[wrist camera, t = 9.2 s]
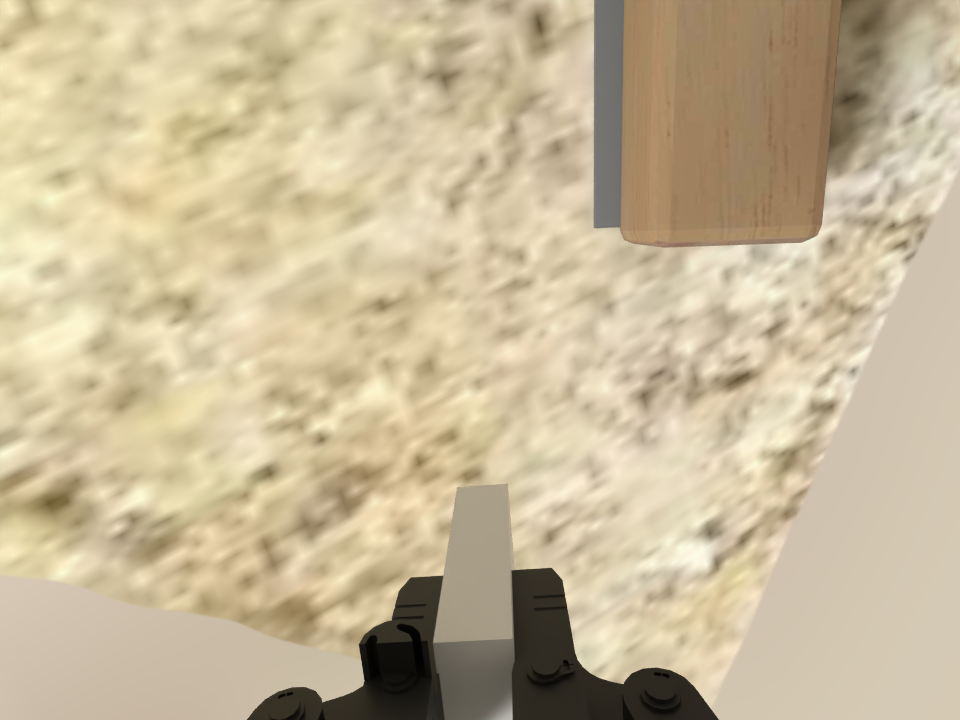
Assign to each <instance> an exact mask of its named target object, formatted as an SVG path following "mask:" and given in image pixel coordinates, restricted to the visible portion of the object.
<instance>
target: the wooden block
mask: <svg viewBox="0 0 960 720" xmlns="http://www.w3.org/2000/svg"><path fill="white" fill-rule="evenodd" d="M841 5H842V0H624V37H623V100H622V163H621V226H620V230H621V233H622V235H623V238H624V240H626V241H628V242H631V243H634V244H640V245H649V246H657V247H692V246H720V245H748V244H776V243H802V242H804V241H806V240H809V239H811V238H813V237H815V236H817V235H818V232H819V230H820V228H821V225H822V217H823V206H824V195H825V184H826V173H827V161H828V150H829V139H830V128H831V117H832V106H833V94H834V83H835V72H836V61H837V50H838V39H839V27H840V16H841Z"/></svg>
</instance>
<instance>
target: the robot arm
mask: <svg viewBox="0 0 960 720" xmlns="http://www.w3.org/2000/svg"><path fill="white" fill-rule="evenodd" d="M359 648H360V654H361V661H362V667H363V673H364V680H365V681H364V685H363V687H361V688H359V689H357V690H356V691H354V692H352V693H350V694H347V695H345V696H342V697H339V698H336V699H332V700H329V701H326V702H323V703H322V699H321V697H320V696H319V695H318V694H317V692H316V691H314V690H311V689H308V688H306V687H295V688H294V687H293V688H289V689H286V690H283V691H279V692H277V693H275V694H274V695H272V696H270V697H269V698H267V699H265V700H264V701H263V702H262V703H261V704H260V705H259V706H258V707H257V708H256V709H255V710H254V711H253V713H252V714H251V715H250V717H249V718H248V719H247V720H718V718H717V717H716V715H715V714H714V713H713V711H712V710H711V709H710V707H709V706H708V705H707V703H706V702H705V701H704V699H703V698H702V697H701V695H700V694H699V692H698V691H697V690H696V688H695V687H694V686H693V685H692V684H691V683H690V682H689V681H688V680H687V679H686V678H685V677H683V676H681V675H679V674H677V673H675V672H673V671H671V670H666V669H661V668H646V669H641V670H639V671H637V672H634V673H632V674H631V675H630V676H629V677H628V678H627V679H626V681H625V682H624V684H619V683H614V682H610V681H607V680H603V679H600V678H598V677H596V676H594V675H592V674H590V673H589V672H588V671H587V670H586V669H584V668H583V667H582V665H581V664H580V663H579V661H578V660H577V657H576V654H575V650H574V644H573V638H572V632H571V627H570V621H569V615H568V610H567V604H566V598H565V592H564V587H563V581H562V579H561V578H560V577H559V576H558V575H557V573H556V572H555V571H554V570H553V569H552V568H543V569H526V570H515V569H514V555H513V543H512V531H511V519H510V506H509V494H508V484H500V485H485V486H469V487H457V492H456V499H455V505H454V511H453V518H452V524H451V531H450V537H449V543H448V550H447V556H446V563H445V569H444V575H443V576H431V577H414V578H410V579H409V580H408V581H407V583H406V584H405V585H404V586H403V587H402V588H401V589H400V591H399V593H398V597H397V601H396V604H395V608H394V612H393V616H392V621H387V622H384V623H382V624H380V625H378V626H375V627H374V628H372V629H371V630H370V631H369V632H368V633H366V634H365V635H364V637H363V638H362V640H361V642H360V643H359Z"/></svg>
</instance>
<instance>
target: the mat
mask: <svg viewBox="0 0 960 720" xmlns="http://www.w3.org/2000/svg"><path fill="white" fill-rule="evenodd" d="M623 37H624V0H594V228H609V227H620V226H621V163H622V100H623Z"/></svg>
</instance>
